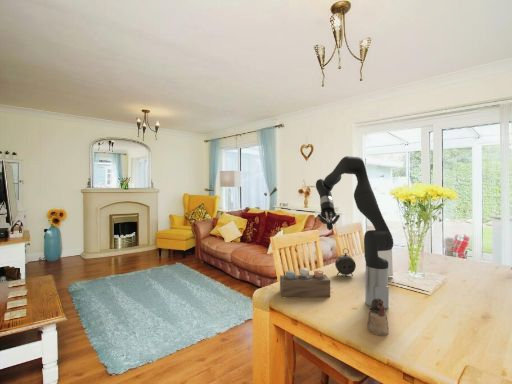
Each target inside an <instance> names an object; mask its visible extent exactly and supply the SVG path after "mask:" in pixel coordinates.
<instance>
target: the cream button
mask: <svg viewBox="0 0 512 384" xmlns="http://www.w3.org/2000/svg"><path fill="white" fill-rule="evenodd" d="M299 275H303V276H307V275H310V269H309V268H308V267H301V268H300V269H299Z"/></svg>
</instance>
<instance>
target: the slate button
mask: <svg viewBox="0 0 512 384" xmlns="http://www.w3.org/2000/svg"><path fill="white" fill-rule="evenodd" d="M285 275H286V278H288V279H293V278H295V275H296V272H295V271H293V270H287V271H285Z"/></svg>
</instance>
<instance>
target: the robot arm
mask: <svg viewBox="0 0 512 384" xmlns="http://www.w3.org/2000/svg"><path fill="white" fill-rule="evenodd" d="M344 174H347V175H355V177H356V181H357V184H356V186H355V189H354V192H353V198H354V202H355V204H356V207H357V210H358V211H359V212H360V213H361V214H362V215H363V216H364V217H365V218H367V219H368V221H369V222H370V223H371V224H372V226H373V228H374V229H370V230H366V232H365V233H364V236H363V248H364V253H363V254H364V260H365V288H364V289H365V295H364V296H365V298H364V300H365V304H366V306H369V308H371V304H372V300H374V299H376V298H380V299H381V300H382V301H383V306H384V310H385V309H389V301H390V300H389V299H390V298H389V296H390V295H389V294H390V292H389V291H390V288H389V277H388V261H387V260H386V259H384V258H381V257H378V251H388V250H391V249H392V250H393V247H394V238H393V235H392V233H391V230H390V229H389V227H388V224H387V222H386V221H385V219H384V217H383V214H382V212H381V209H380V207H379V204H378V201H377V197H376V196H375V194H374V191H373V188H372V186H371V182H370V180H369V176H368V173H367V168H366V165H365V162H364V160H363V158H362V157H360V156H351V155H350V156H347V155H346V156H344V157H342V158H341V160H339V162H338V164H336V166H335V168H333V170H332V171H331V172H330V173H329V174H328V175H326V176H325V178H323V179H322V178H319V179H317V180H316V182H315V189H316V191H317V193H318V196H319V204H320V211H321V212H320V214H319V213H318V214H317V219H318V220H319V221H320V222H321V223H322V224H323V225H326V229H327V230H328V231H332V230H333V225H335V224H336V223H337V221H339V219H340V217H341V214H337V213H336V211H335V205H334V200H333V196H332V190H333V189H334V186H336V185H337V184H338V183H340V181H341V179H342V175H344Z"/></svg>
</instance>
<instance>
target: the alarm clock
mask: <svg viewBox="0 0 512 384" xmlns="http://www.w3.org/2000/svg"><path fill="white" fill-rule="evenodd" d="M344 250H347V252H344ZM342 253H343V254H342V255H341V254H340V255H339V256H338V257H336V259H335V262H334V263H335V264H334V265H335V268H336V269H337V271H338V272H337V273H336V275H337V276H338V275H339V274H341V275H344V276H345V278H347V277H348V275H351V276H353V275H354V274H353V273H354V271H355V269H356V266H357V265H356V261H355V260H354V259H353V257H352V256H350V255H348V254H349V253H350V251H349V249H348V248H346V247H345V248H344V249H342Z"/></svg>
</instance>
